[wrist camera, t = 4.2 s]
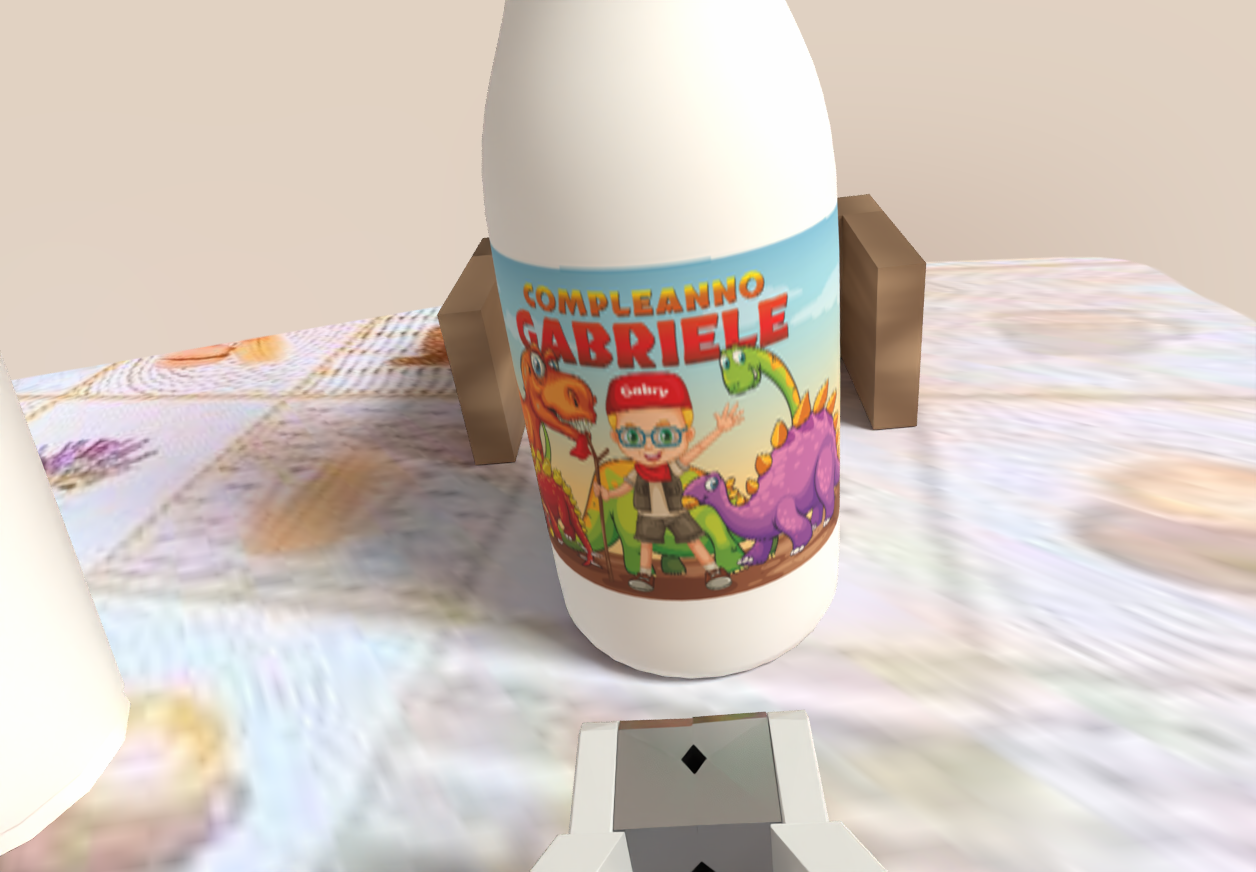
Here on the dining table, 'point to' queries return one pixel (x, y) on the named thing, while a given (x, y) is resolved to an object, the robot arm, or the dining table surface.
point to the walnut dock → (869, 332)
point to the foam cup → (46, 649)
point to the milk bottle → (672, 318)
